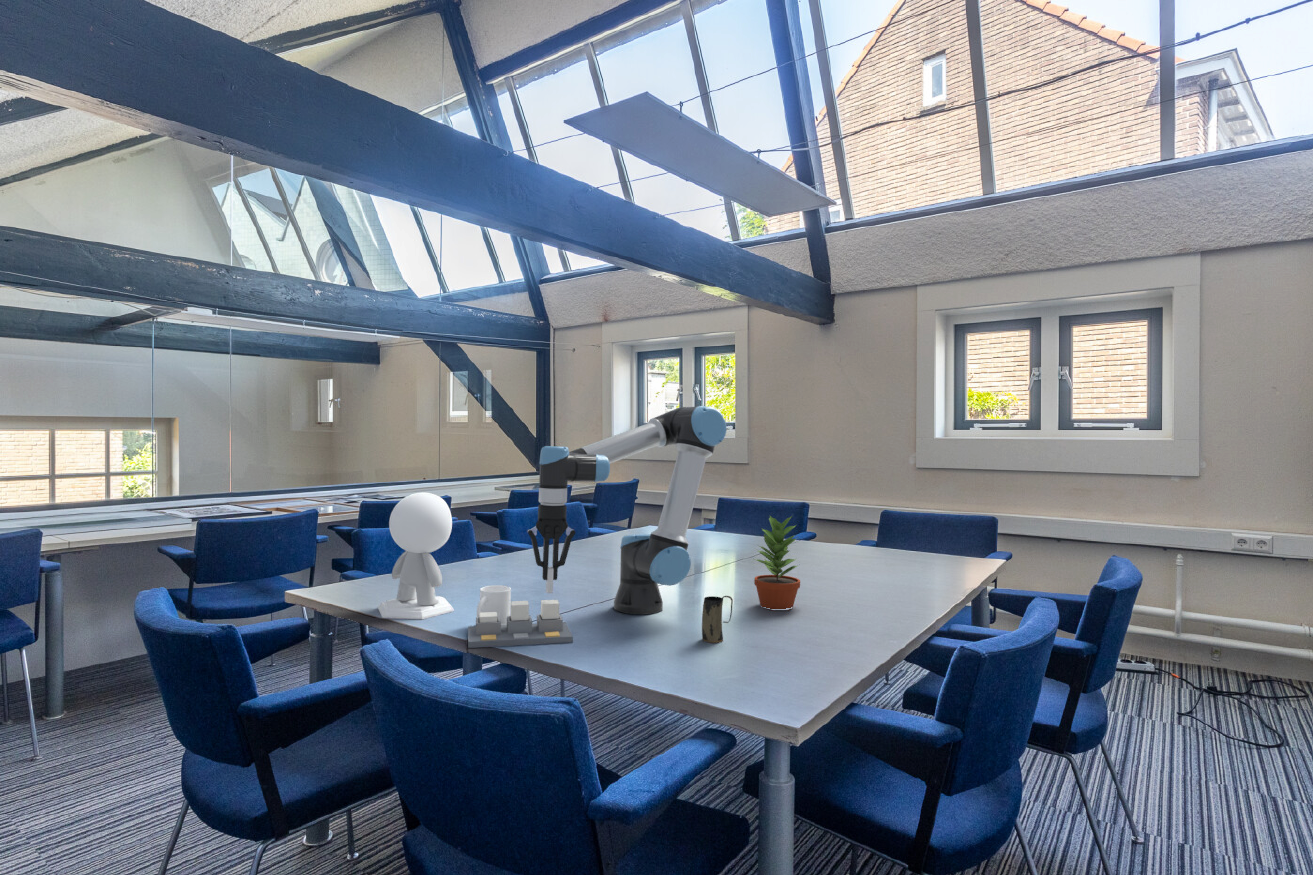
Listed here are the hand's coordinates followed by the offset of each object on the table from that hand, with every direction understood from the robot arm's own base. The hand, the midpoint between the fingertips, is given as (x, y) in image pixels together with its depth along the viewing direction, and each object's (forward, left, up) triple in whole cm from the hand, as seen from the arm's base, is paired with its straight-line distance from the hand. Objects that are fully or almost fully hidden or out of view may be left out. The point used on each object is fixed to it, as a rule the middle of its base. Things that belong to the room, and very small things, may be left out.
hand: (549, 592), depth 185 cm
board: (+8, +1, -11) cm, 14 cm away
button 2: (+8, 0, -7) cm, 10 cm away
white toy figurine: (+36, -32, -12) cm, 49 cm away
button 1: (0, 0, -7) cm, 7 cm away
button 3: (+16, 0, -9) cm, 18 cm away
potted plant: (-74, -17, -12) cm, 77 cm away
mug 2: (-43, +14, -12) cm, 46 cm away
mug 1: (+15, -9, -12) cm, 21 cm away
